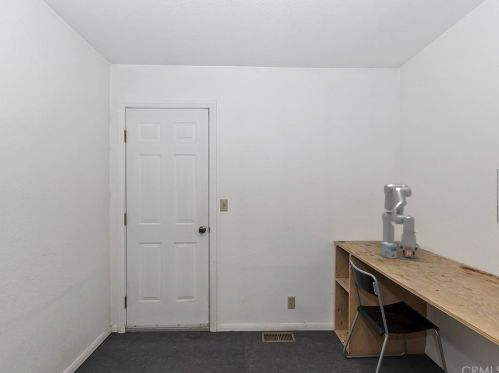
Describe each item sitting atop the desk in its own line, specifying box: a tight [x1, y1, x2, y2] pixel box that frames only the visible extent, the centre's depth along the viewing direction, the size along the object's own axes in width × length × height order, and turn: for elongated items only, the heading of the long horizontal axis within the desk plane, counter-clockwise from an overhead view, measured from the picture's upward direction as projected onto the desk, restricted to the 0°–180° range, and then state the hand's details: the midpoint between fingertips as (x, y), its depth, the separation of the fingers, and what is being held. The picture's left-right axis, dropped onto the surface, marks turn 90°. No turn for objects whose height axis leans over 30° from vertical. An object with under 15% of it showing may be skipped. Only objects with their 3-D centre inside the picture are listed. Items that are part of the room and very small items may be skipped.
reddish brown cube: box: [404, 247, 413, 257], centre depth 213 cm, size 6×6×6 cm
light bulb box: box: [379, 241, 398, 260], centre depth 217 cm, size 11×7×11 cm, turn 22°
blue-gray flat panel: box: [399, 254, 419, 262], centre depth 213 cm, size 12×12×1 cm
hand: (408, 255), depth 213 cm, fingers closed on reddish brown cube, 5 cm apart
